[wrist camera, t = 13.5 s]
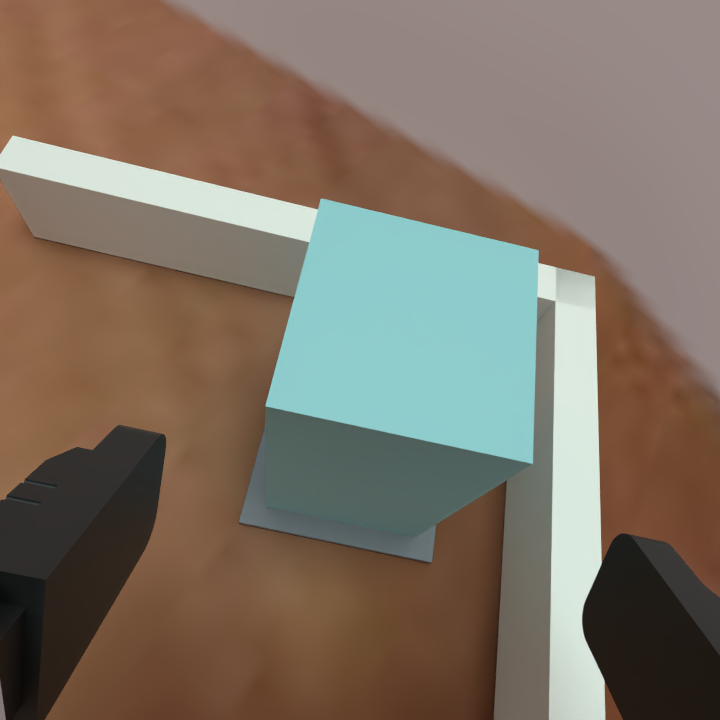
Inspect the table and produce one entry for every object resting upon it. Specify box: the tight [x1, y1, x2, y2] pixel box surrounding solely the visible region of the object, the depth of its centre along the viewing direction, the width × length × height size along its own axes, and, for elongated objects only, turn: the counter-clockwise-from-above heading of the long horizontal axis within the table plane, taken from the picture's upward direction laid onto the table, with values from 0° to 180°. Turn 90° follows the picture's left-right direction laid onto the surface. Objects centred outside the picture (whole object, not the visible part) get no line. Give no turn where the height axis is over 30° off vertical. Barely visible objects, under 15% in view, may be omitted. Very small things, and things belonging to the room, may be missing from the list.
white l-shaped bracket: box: [0, 136, 605, 720], centre depth 18 cm, size 23×21×4 cm
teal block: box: [265, 199, 539, 537], centre depth 17 cm, size 6×6×10 cm
